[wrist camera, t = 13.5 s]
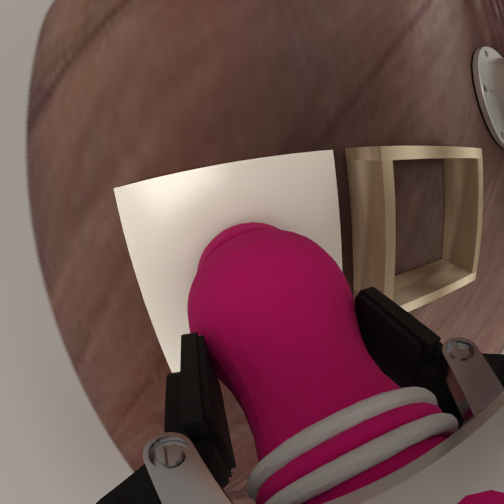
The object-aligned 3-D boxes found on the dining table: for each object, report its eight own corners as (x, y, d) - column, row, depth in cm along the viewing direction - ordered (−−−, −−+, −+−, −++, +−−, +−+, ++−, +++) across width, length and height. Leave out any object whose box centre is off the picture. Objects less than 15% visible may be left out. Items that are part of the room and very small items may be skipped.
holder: (447, 146, 19) (481, 148, 15) (445, 264, 22) (475, 279, 18) (344, 147, 17) (380, 146, 13) (353, 297, 21) (381, 322, 17)
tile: (325, 150, 17) (332, 149, 16) (337, 323, 21) (342, 330, 20) (118, 187, 15) (113, 188, 14) (172, 364, 19) (171, 372, 18)
